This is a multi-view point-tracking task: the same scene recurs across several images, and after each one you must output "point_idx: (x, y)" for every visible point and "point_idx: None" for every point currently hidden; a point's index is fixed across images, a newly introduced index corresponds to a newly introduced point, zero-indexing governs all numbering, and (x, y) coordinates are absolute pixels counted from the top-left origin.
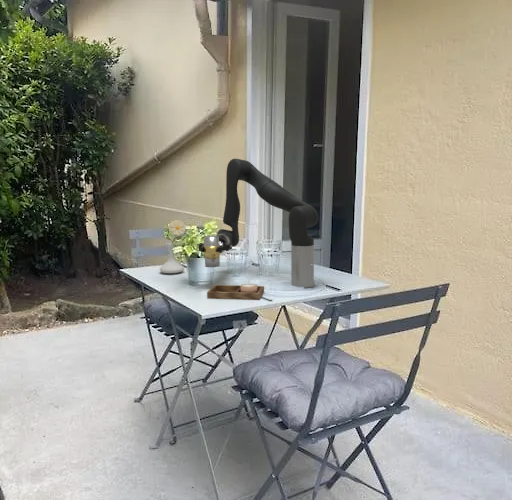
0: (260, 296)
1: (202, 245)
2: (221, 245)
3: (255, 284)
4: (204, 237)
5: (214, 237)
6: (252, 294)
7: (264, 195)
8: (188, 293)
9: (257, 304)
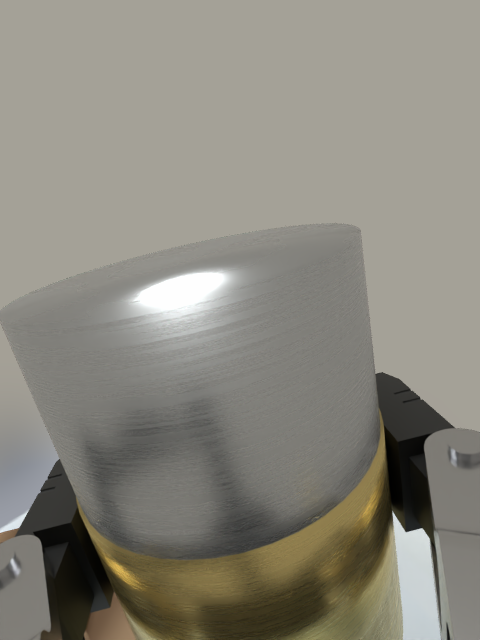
0: None
1: (473, 433)
2: (24, 539)
3: None
4: (287, 227)
5: (111, 265)
6: (11, 534)
7: None
8: (428, 579)
9: (18, 524)
